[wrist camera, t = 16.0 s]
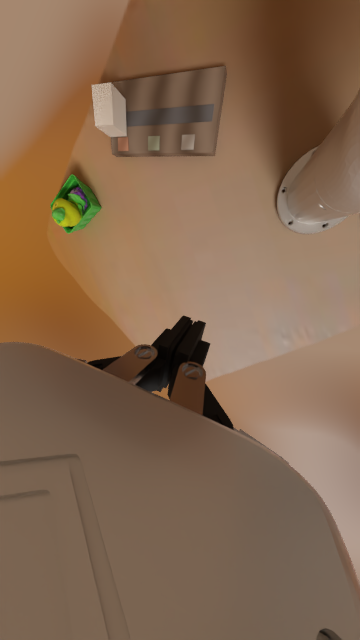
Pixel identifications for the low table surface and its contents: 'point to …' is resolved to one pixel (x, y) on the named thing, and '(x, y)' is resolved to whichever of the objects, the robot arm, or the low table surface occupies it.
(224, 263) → the low table surface
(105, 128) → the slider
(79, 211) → the fruit basket
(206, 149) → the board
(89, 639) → the robot arm
